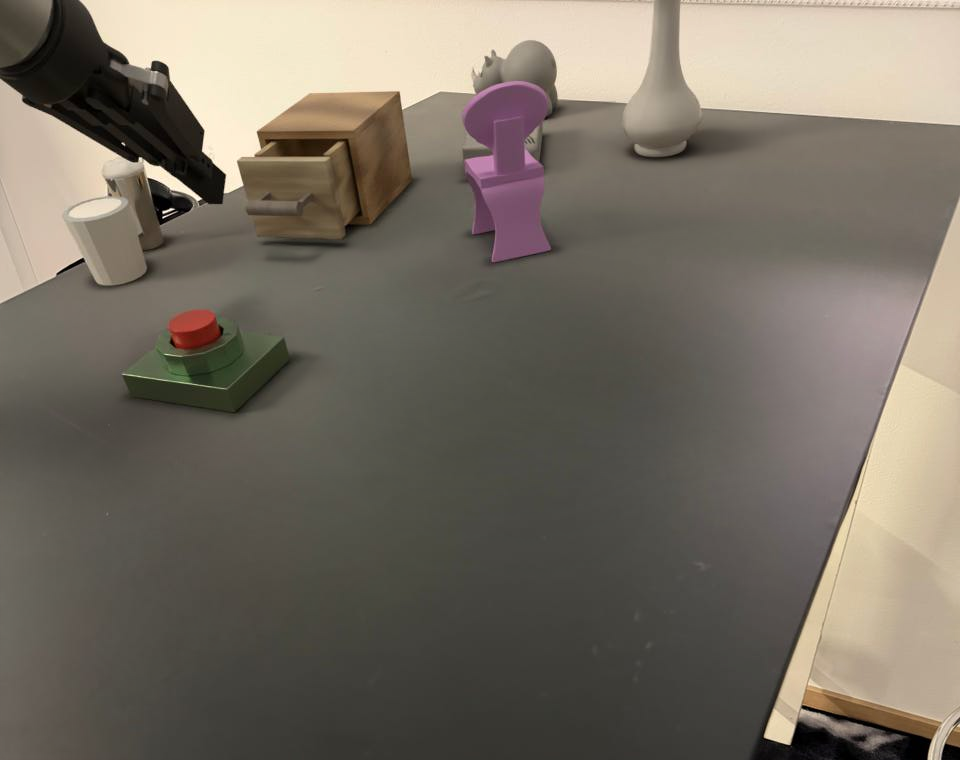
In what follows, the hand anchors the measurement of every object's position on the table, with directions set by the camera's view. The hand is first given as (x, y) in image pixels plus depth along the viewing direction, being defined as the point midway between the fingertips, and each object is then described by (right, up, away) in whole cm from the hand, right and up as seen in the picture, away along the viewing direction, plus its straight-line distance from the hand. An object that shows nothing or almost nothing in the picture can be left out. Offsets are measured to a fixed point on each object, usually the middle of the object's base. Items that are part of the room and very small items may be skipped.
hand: (217, 189), depth 80 cm
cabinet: (+9, +11, +24) cm, 27 cm away
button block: (+1, -18, -3) cm, 19 cm away
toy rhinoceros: (+29, +32, +41) cm, 60 cm away
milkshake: (-13, +4, +20) cm, 25 cm away
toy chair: (+27, 0, +11) cm, 30 cm away
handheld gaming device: (+28, +19, +29) cm, 44 cm away
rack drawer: (+6, +5, +17) cm, 19 cm away
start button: (0, -16, -6) cm, 17 cm away
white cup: (-15, -2, +15) cm, 21 cm away
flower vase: (+46, +18, +26) cm, 55 cm away
